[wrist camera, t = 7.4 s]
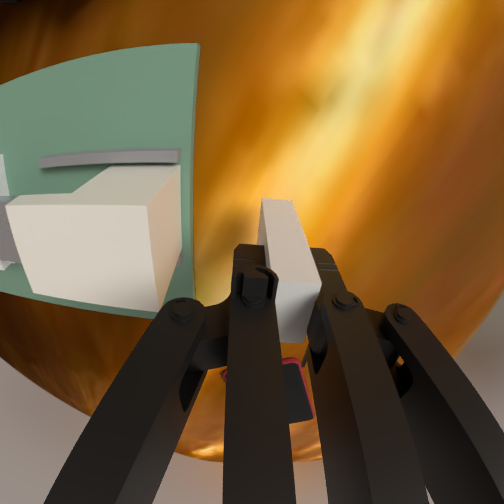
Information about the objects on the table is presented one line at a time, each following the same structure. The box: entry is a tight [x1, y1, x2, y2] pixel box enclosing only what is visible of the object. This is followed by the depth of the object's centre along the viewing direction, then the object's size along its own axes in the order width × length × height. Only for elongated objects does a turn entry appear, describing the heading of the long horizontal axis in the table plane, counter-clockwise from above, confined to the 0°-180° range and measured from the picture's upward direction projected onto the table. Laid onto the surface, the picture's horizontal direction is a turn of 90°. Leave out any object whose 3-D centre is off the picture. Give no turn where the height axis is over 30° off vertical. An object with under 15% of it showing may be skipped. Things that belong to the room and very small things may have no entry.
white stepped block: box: [5, 165, 182, 312], centre depth 13 cm, size 5×8×6 cm, turn 85°
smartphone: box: [223, 358, 315, 424], centre depth 28 cm, size 7×1×15 cm
